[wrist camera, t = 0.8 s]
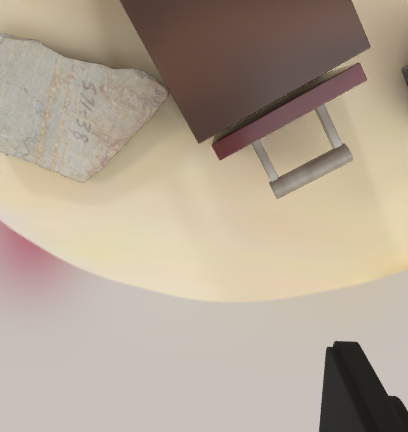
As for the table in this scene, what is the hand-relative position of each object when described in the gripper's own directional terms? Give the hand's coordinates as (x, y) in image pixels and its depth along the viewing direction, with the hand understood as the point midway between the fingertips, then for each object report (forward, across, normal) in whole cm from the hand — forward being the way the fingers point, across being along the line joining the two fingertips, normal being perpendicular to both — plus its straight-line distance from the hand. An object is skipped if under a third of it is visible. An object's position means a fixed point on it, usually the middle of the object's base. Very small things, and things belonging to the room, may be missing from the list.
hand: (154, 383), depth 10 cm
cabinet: (+25, -2, -14) cm, 29 cm away
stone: (+26, +12, -8) cm, 29 cm away
